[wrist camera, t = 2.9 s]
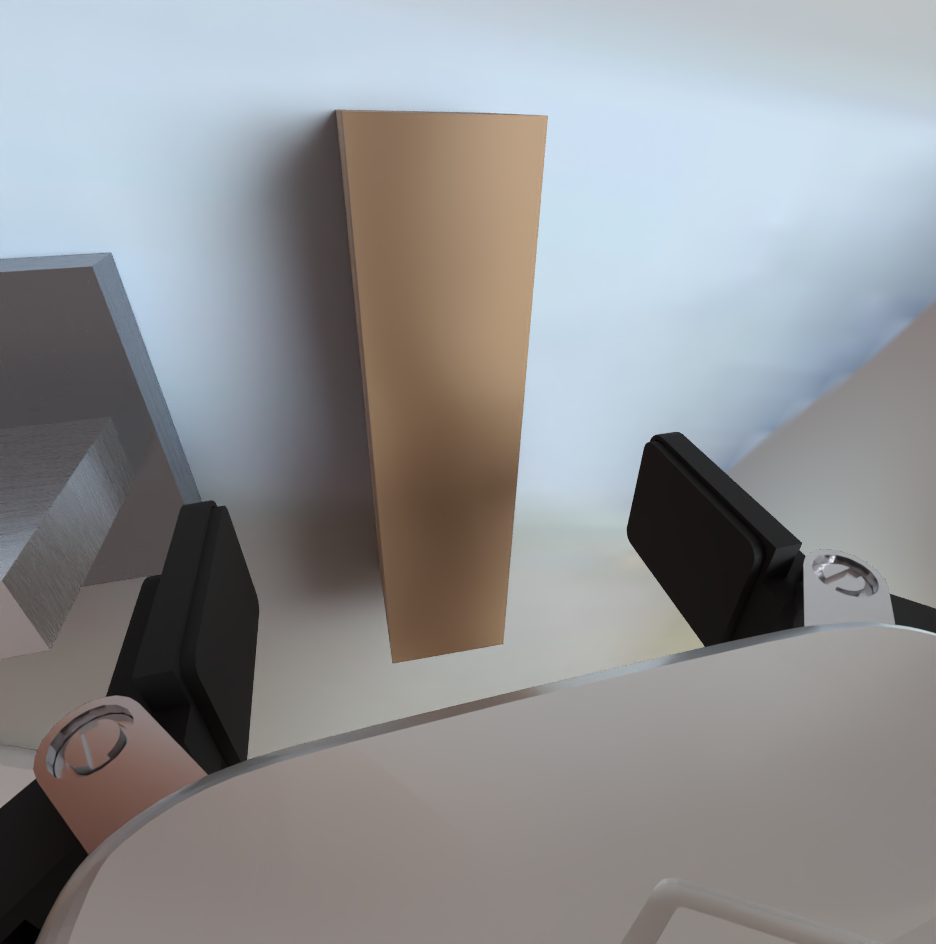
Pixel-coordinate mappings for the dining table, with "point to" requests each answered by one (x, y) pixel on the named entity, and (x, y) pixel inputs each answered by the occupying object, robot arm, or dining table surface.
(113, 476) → the ridge stand
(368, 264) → the tan long block
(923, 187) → the dining table surface
